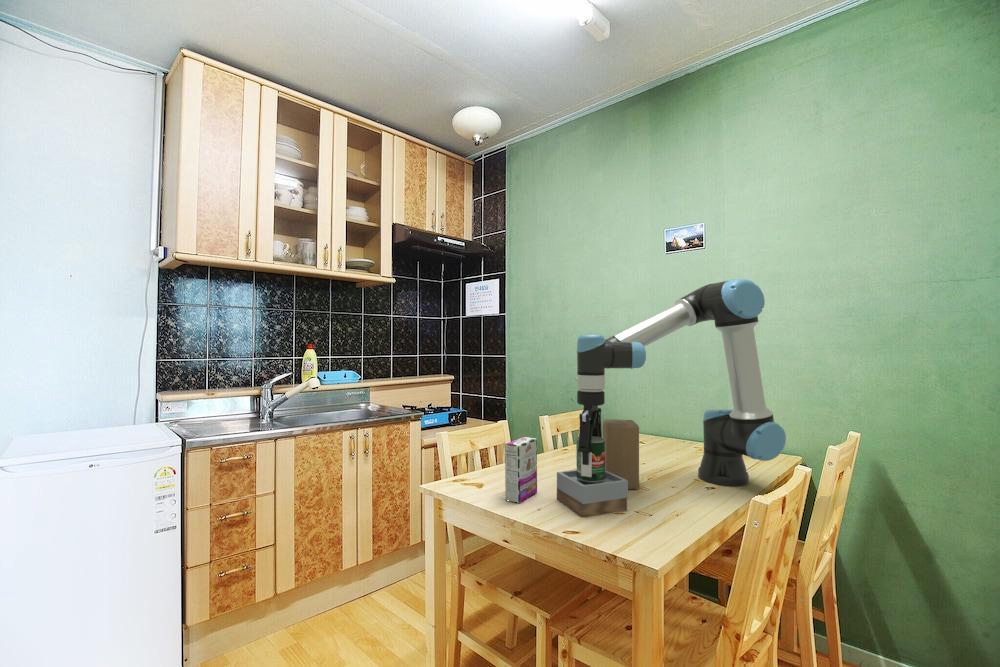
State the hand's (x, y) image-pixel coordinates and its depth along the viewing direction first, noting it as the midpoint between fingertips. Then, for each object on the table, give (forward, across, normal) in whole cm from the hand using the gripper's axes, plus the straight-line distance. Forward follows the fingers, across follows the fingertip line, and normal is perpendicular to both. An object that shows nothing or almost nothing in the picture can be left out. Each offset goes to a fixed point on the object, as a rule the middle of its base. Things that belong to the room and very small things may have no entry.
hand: (590, 472), depth 127 cm
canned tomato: (+2, 0, 0) cm, 2 cm away
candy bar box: (+9, +3, -20) cm, 22 cm away
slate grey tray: (+6, 0, 0) cm, 6 cm away
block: (+9, -22, +4) cm, 24 cm away
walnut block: (+10, 0, 0) cm, 10 cm away
